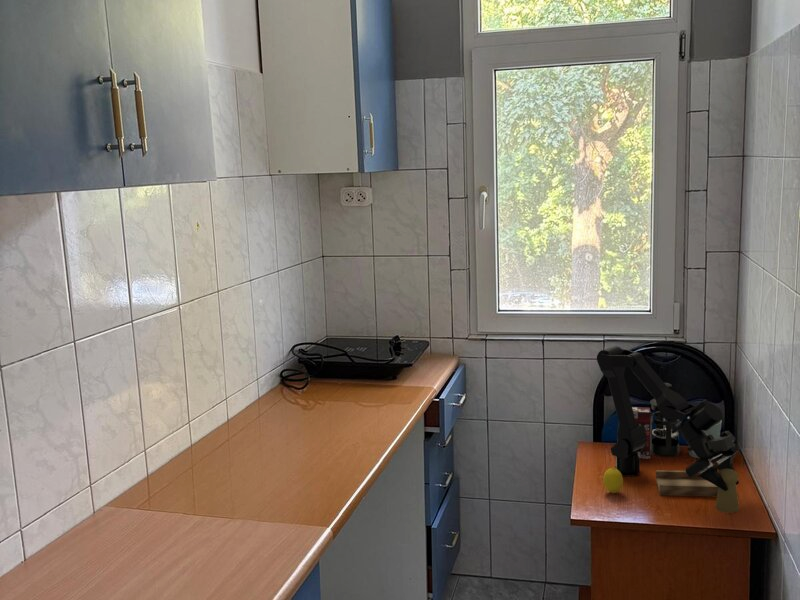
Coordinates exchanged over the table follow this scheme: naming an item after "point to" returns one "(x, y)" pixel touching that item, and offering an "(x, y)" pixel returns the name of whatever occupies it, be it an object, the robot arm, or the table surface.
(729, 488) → the olive pawn figure
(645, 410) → the supplement box
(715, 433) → the pale green plant pot
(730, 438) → the robot arm
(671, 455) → the french press
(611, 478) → the lemon
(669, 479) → the track
